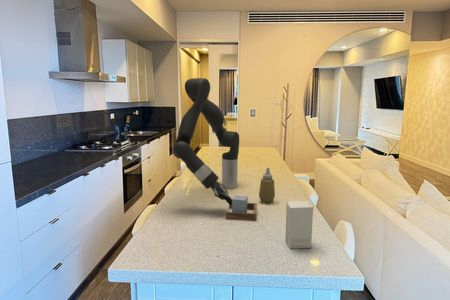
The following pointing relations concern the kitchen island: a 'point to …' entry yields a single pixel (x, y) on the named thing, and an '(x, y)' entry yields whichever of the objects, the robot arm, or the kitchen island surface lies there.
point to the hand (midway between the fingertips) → (232, 203)
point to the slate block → (239, 204)
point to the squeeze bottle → (267, 188)
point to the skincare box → (299, 224)
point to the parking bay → (243, 215)
